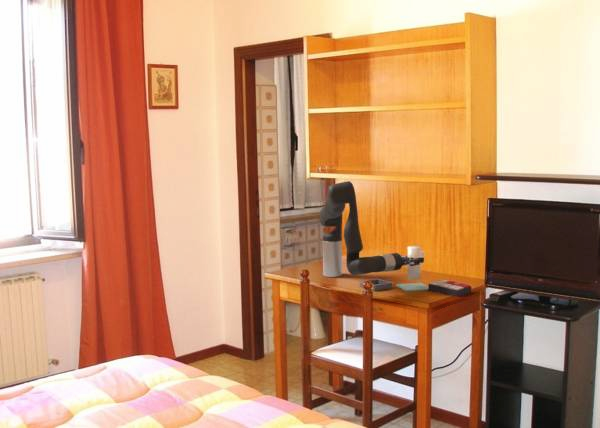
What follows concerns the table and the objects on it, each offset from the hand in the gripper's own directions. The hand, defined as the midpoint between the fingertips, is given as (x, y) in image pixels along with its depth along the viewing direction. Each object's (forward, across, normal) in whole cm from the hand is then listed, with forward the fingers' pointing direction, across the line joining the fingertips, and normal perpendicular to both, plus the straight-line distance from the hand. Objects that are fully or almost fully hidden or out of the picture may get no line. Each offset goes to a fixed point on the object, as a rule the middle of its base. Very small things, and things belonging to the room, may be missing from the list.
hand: (418, 258), depth 306 cm
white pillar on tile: (-1, 0, +9) cm, 9 cm away
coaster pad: (-2, 0, +13) cm, 13 cm away
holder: (-15, +10, +13) cm, 23 cm away
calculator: (+5, -14, +14) cm, 20 cm away
